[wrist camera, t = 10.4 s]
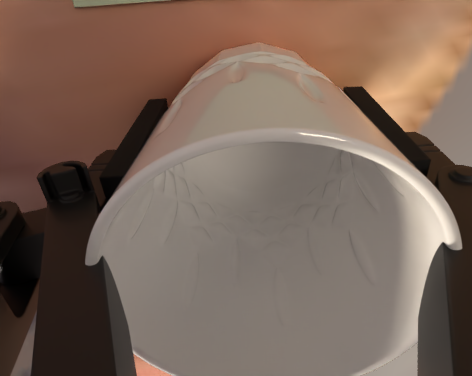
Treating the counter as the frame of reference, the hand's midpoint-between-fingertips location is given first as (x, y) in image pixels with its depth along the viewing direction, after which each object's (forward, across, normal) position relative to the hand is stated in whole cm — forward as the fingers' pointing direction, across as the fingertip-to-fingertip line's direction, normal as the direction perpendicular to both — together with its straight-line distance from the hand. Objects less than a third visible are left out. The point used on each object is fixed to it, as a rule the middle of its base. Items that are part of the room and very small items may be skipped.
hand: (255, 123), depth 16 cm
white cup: (0, 0, 0) cm, 0 cm away
